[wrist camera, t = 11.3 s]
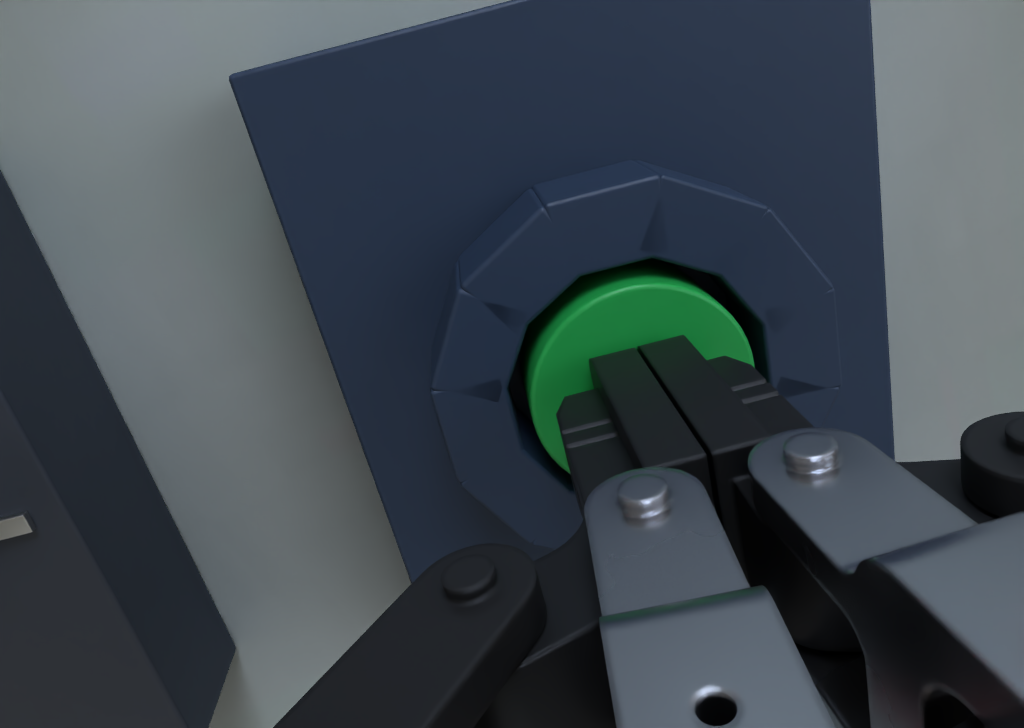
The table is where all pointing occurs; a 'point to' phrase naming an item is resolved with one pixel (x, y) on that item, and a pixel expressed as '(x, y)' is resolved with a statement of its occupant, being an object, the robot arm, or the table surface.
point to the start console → (571, 222)
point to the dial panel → (86, 536)
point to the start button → (616, 333)
